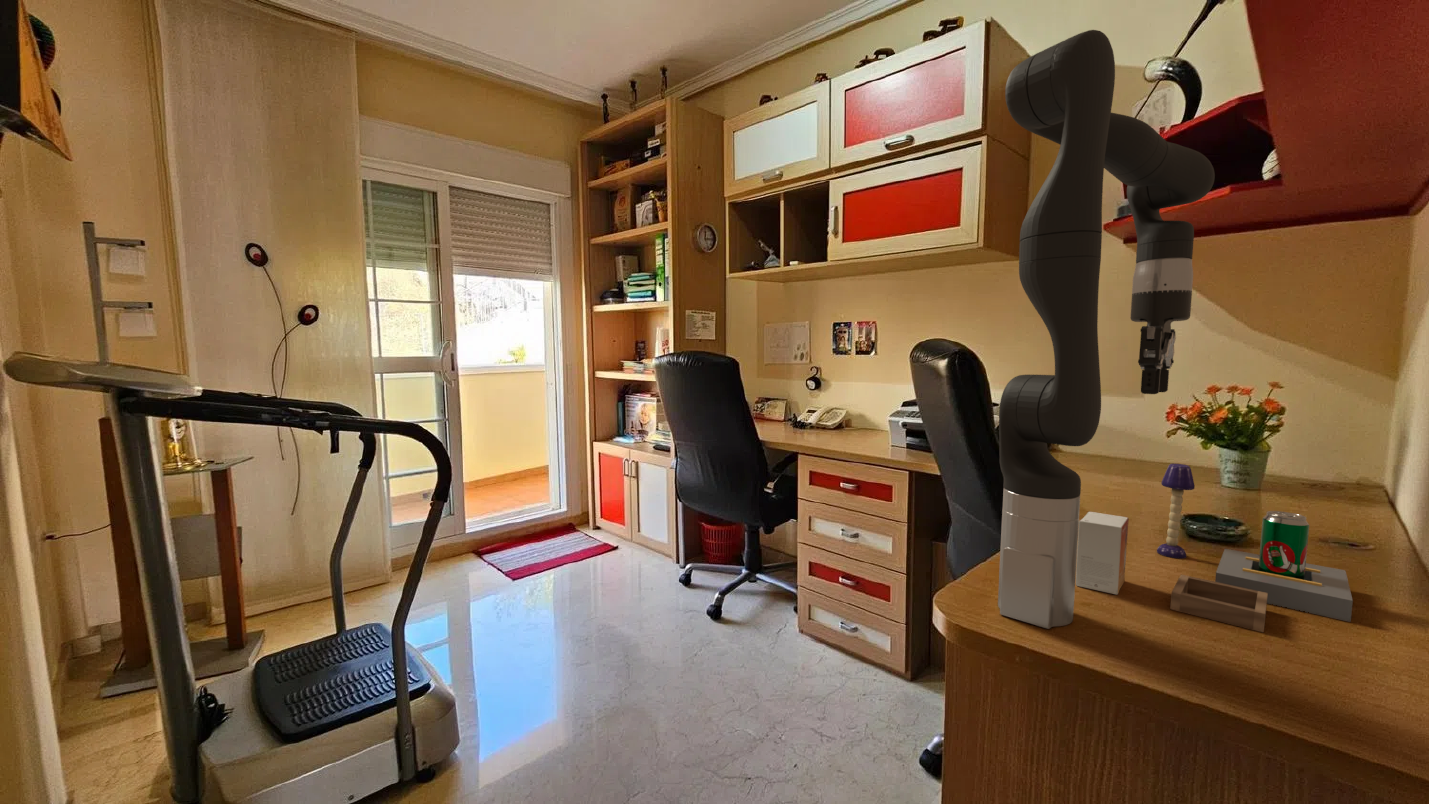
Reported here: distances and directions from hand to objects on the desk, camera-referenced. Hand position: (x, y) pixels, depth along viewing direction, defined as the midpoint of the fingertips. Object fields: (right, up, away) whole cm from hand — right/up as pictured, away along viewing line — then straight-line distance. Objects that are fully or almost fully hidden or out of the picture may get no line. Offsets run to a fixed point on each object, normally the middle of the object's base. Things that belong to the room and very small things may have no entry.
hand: (1154, 393), depth 92 cm
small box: (-9, -31, -1) cm, 32 cm away
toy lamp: (+13, -30, +12) cm, 34 cm away
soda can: (+17, -31, -3) cm, 35 cm away
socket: (+17, -31, -3) cm, 35 cm away
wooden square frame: (+1, -31, -10) cm, 33 cm away
